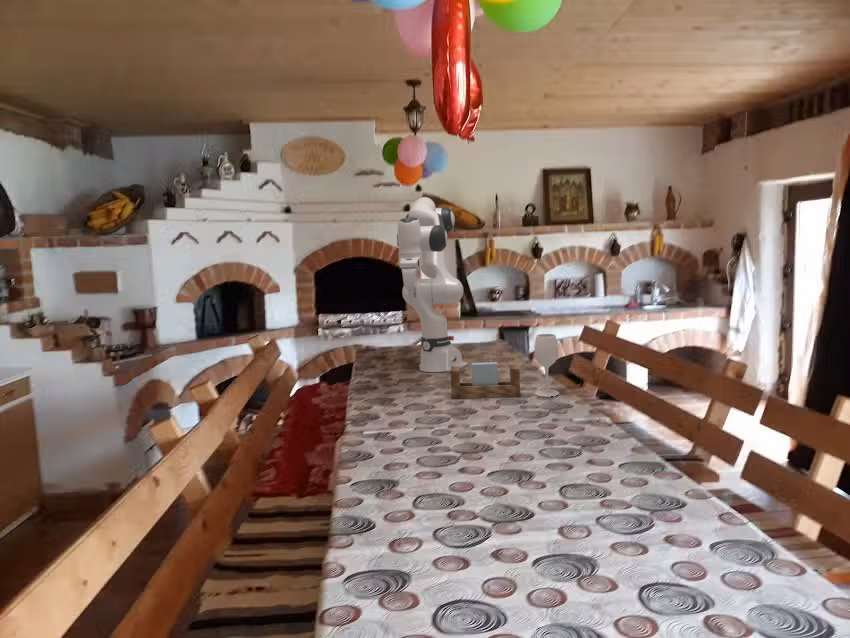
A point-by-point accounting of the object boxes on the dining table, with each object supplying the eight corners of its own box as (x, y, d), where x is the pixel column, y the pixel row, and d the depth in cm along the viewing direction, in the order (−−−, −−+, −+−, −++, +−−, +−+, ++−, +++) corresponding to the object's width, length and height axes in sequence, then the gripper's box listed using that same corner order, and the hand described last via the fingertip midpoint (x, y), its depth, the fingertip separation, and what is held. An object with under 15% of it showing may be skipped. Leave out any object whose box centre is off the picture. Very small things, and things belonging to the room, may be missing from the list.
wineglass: (558, 390, 234) (557, 332, 232) (561, 396, 226) (559, 336, 223) (533, 391, 235) (532, 333, 233) (535, 397, 227) (534, 337, 224)
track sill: (518, 391, 236) (518, 364, 235) (520, 397, 228) (519, 368, 227) (452, 393, 238) (451, 366, 237) (451, 398, 230) (450, 371, 229)
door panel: (497, 389, 234) (496, 362, 233) (498, 391, 231) (497, 364, 230) (472, 390, 235) (471, 362, 234) (472, 392, 232) (471, 364, 230)
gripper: (405, 260, 253) (407, 296, 255) (399, 263, 233) (401, 302, 235) (421, 260, 253) (423, 295, 254) (416, 262, 232) (418, 301, 234)
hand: (412, 298), depth 244 cm, fingers open, 8 cm apart
